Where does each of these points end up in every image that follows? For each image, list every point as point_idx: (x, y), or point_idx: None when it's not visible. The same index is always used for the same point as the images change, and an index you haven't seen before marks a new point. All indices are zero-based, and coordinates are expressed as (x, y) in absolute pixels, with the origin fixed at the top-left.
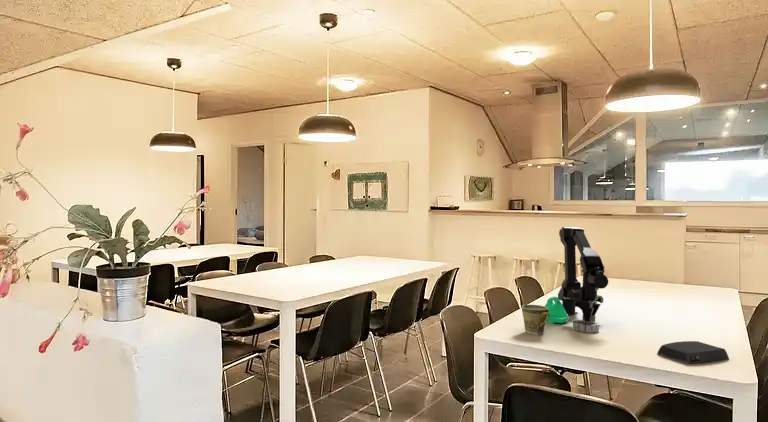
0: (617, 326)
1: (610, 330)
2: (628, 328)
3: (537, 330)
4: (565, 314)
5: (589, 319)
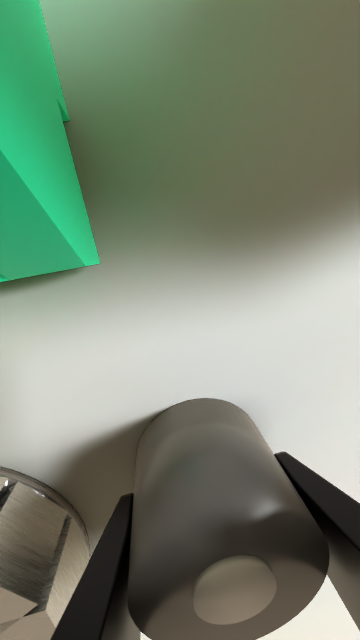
0: None
1: None
2: (331, 619)
3: None
4: None
5: None
